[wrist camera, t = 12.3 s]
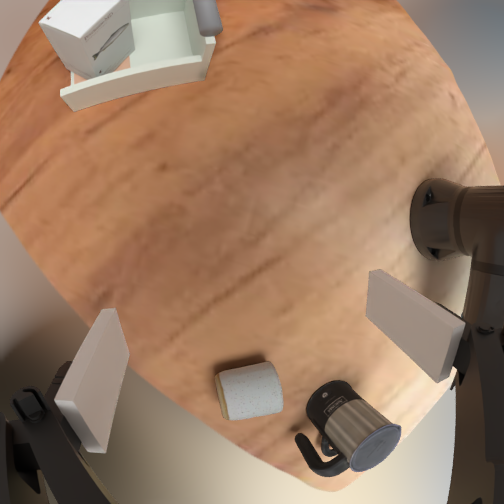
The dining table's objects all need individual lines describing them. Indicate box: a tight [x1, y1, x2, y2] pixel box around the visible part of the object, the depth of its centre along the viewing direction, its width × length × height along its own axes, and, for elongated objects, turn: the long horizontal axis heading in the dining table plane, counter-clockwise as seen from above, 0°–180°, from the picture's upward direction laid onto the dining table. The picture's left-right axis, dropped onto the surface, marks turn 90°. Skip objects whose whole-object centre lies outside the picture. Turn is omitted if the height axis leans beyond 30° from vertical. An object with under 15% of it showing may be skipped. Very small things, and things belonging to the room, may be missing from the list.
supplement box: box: [39, 0, 135, 80], centre depth 23 cm, size 7×7×13 cm
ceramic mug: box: [215, 361, 283, 420], centre depth 37 cm, size 11×8×8 cm
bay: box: [60, 0, 223, 112], centre depth 25 cm, size 19×14×12 cm
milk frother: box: [295, 381, 401, 477], centre depth 39 cm, size 14×16×15 cm
